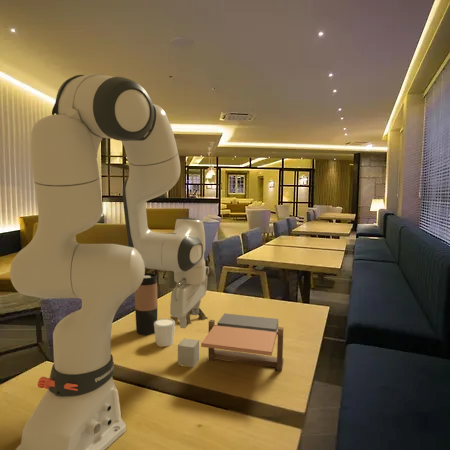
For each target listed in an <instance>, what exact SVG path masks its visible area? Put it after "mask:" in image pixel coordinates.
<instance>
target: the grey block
mask: <svg viewBox="0 0 450 450" xmlns="http://www.w3.org/2000/svg"><path fill="white" fill-rule="evenodd" d="M199 360H200V340H199V339H191V338H183V339H181V341H180V342H179V343H178V345H177V366H179V365H183V366H182V367H186V366H189V367H188V368H193V367H194V368H195V367H196V365H197V364H198V362H199Z"/></svg>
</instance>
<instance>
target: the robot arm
mask: <svg viewBox="0 0 450 450" xmlns="http://www.w3.org/2000/svg"><path fill="white" fill-rule="evenodd" d="M103 138H104V139H112V140H115V141H120V142H121V144H122V145H123V147H124V150H125V155H126V160H127V163H128V164H127V165H128V167H129V168H128V169H129V172H128V177H127V178H125V180H124V182H123V185H122V203H123V205H122V206H123V211H124V220H125V227H126V236H127V245H123V244H117V243H82V242H81V243H80V242H78V241H77V235H78V234H81V233H83V232H85V231H88V230H89V229H91V228H93V226H95V225H96V224H97V223H98V222H99V221H100V220H101V217H102V215H103V200H102V190H101V181H100V171H99V164H98V151H99V147H100V144H101V142H102V140H103ZM30 141H31V144H30V148H31V149H30V152H31V154H30V156H31V167H32V169H31V170H32V176H33V178H32V179H33V182H34V189H35V194H36V195H35V196H36V204H37V213H38V215H37V216H38V217H37V219H38V222H37V226H36V227H37V228H36V231H35V234H34V236H33V238H32V239H31V241H30V242H29V243H28V244H27V245H26V246H24V247H23V248H22V249H21V250H19V252H17V253H16V255H15V256H14V258H13V260H12V262H11V264H10V267H9V276H10V282H11V284H12V286H13V288H14V289H15V290H16V291H17V293H18V294H20V295H22V296H23V295H24V296H29V297H33V298H40V299H80V300H81V308H80V309H78V310H76V311H73V312H71V313H70V314H68V315H67V316H65V317H63V318H61V320H59V322H58V323H57V324H56V325H55V327H54V328H53V329H54V330H53V332H52V345H53V347H52V349H53V364H52V367H51V370H50V375H49V377H46V376H40V377H39V379H38V381H37V387H38V388H39V389H45V390H46V392H45V393H44V395H43V396H42V398H41V400H40V401H39V403H38V404H37V406H36V408H35V409H34V410H33V412H32V414H31V416H29V418H28V420H27V421H26V423H25V424H24V427H23V429H22V434H21V440H20V441H21V442H20V444H19V445H18V446H17V447H16V448H15V450H106V449H107V448H109V447H110V446H111V445H112V444H114V442H115V441H116V440H118V438H120V437H121V436H122V435H123V434H124V433H125V432H126V430H127V424H126V423H125V421H124V419H122V416H121V415H122V414H121V405H120V404H121V403H120V397H119V390H118V388H117V386H116V384H115V382H114V378H113V375H114V367H115V364H114V363H115V362H114V357H113V355H112V353H111V350H112V349H111V347H112V346H111V344H112V326H113V322H114V318H115V316H116V313H117V311H118V310H119V308H120V307H121V305H122V304H123V303H124V302H125V300H127V299H128V298H129V297H130V296H132V295H133V294H135V291H136V290H137V289H138V288H139V287H140V285H141V283H142V281H143V279H144V275H145V273H146V270H158V271H165V272H169V271H170V272H173V280H174V282H175V283H176V284H175V287H174V288H173V289H172V290H171V293H170V294H171V295H170V303H169V304H170V311H169V314H170V316H172V317H176V318H177V320H178V322H179V327H180V329H184V330H185V329H186V328H187V327H188V326H189V324H188V321H187V320H186V316H187V313H188V312H189V311H190V310H191V309H192V308H193V309H192V314H191V315H192V316H198V313H199V308H200V306H201V300H202V299H203V298H204V297H205V296H206V293H207V288H208V275H209V274H210V267H209V266H206V260H205V252H206V233H205V227H204V226H205V225H204V222H203V221H202V219H200V218H192V217H179V218H177V219H176V220H175V225H174V231H172V233H169V232H168V233H164V232H155V231H153V230H151V229H150V228H149V225H148V217H147V202H148V201H150V200H153V199H155V198H158V197H159V198H160V197H161V196H163V195H164V194H166V193H168V192H169V191H171V190H172V189H173V187H175V185H176V184H177V182H179V179H180V176H181V161H180V155H179V151H178V147H177V145H178V144H177V141H176V138H175V135H174V131H173V129H172V125H171V122H170V120H169V118H168V115H167V113H166V111H165V109H163V108H162V107H161V106H160V105H158V104H155V103H153V101H152V98H151V97H150V94H149V93H148V92H147V90H145V87H143V86H142V85H140V84H139V83H138V82H136V81H134V80H132V79H129V78H126V77H124V76H111V75H107V74H103V73H92V74H78V75H74V76H71V77H70V78H67V79H66V80H65V81H64V82H62V84H61V85H60V87H59V89H58V91H57V92H56V97H55V103H54V104H53V107H52V110H51V115H48V116H44V117H43V118H40V119H39V120H37V121H36V122H35V123H34V125H33V127H32V129H31V139H30Z"/></svg>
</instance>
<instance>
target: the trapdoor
mask: <svg viewBox="0 0 450 450" xmlns="http://www.w3.org/2000/svg"><path fill="white" fill-rule="evenodd" d="M215 325H220V326H215ZM215 325H214V326H213V328H212V329H211V331H210V332H209V331H208V332H207V335H206V336H205V338H204V339H203V340H202V341H201V342H200V343H201V344H200V347H201V348H207V349H208V348H214V349H217V350H225V351H233V352H241V353H248V354H256V355H264V356H272V355H273V351H274V347H275V344H276V341H277V340H276V339H277V337H278V335H277V332H278V327H279V318H275V317H274V318H273V317H264V316H262V317H261V316H254V315H243V314H234V313H233V314H232V313H223V315H222V316H221V317H220V319H219V320H218V321H217V323H216V324H215ZM224 326H229V327H224ZM233 327H238V328H233ZM242 328H247V329H242ZM251 329H256V330H251ZM260 330H265V331H260ZM269 331H274V332H269ZM272 357H273V356H272Z"/></svg>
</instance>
